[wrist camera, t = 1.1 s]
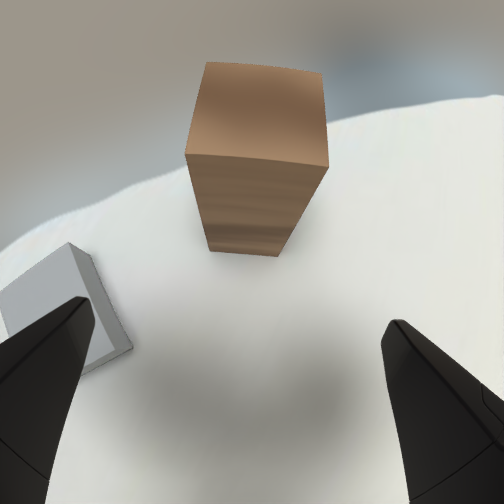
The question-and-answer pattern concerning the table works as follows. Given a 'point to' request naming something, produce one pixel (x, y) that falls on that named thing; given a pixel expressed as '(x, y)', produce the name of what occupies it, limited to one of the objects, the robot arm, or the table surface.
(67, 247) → the grey plinth
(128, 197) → the table surface
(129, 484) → the table surface
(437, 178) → the table surface
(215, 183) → the walnut pillar
